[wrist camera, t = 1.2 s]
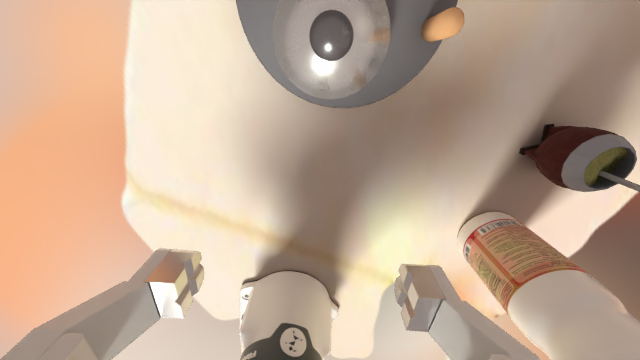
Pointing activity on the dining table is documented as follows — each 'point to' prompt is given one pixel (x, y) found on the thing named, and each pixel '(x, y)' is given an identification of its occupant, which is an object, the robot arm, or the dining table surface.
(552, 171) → the mate gourd
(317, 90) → the cover
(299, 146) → the dining table surface
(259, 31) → the turntable
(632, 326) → the fruit juice
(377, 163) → the dining table surface
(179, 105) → the dining table surface
